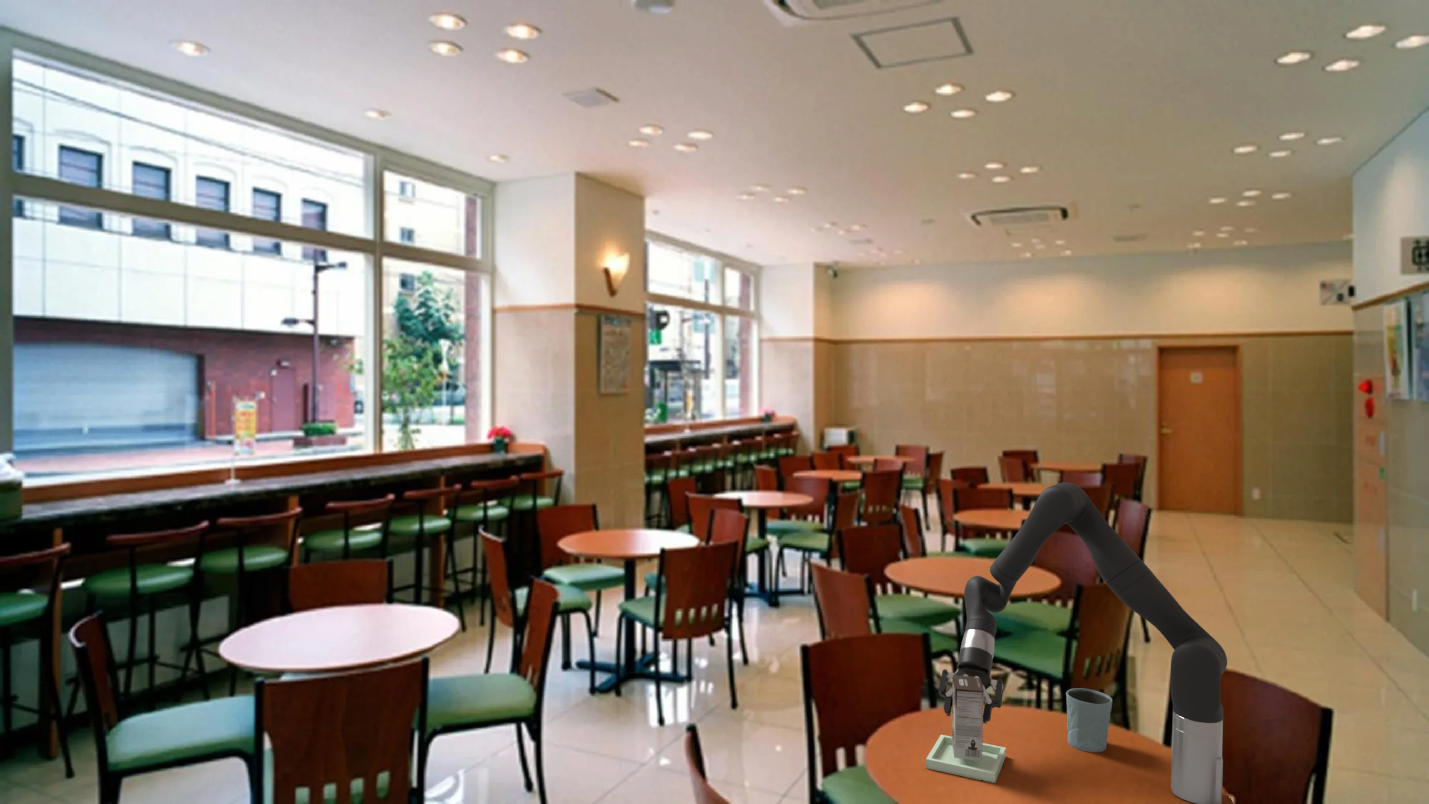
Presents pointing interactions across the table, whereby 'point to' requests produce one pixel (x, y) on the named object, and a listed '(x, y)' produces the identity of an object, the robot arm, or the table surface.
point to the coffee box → (967, 717)
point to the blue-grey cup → (1088, 719)
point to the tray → (966, 761)
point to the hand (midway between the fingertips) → (966, 718)
